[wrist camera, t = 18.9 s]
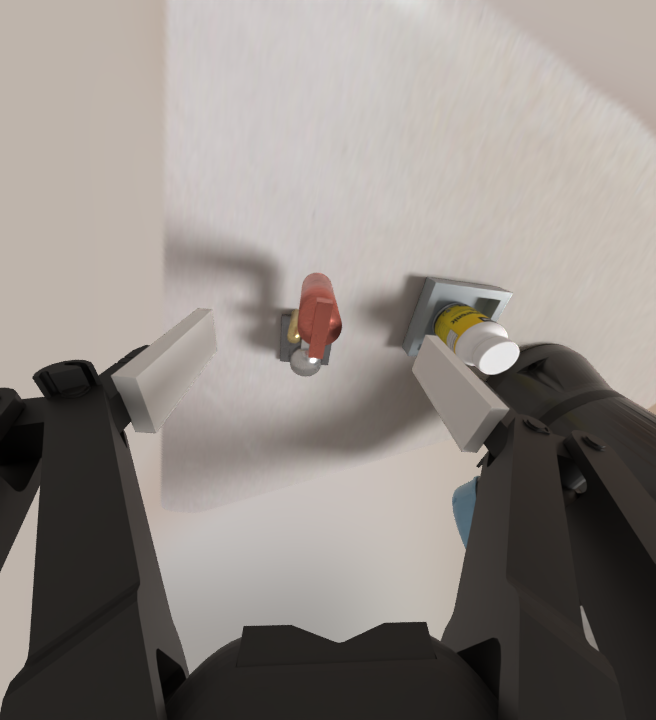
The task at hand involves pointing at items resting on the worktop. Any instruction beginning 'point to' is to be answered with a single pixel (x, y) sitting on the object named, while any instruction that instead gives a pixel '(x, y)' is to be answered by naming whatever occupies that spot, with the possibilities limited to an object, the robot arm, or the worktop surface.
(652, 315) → the worktop surface
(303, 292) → the crank
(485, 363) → the supplement bottle
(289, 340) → the crank pedestal
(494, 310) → the tray
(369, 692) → the robot arm
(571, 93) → the worktop surface
